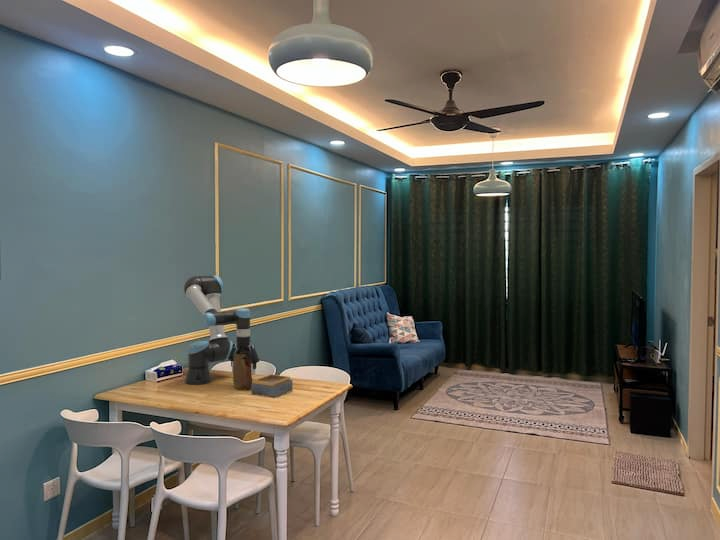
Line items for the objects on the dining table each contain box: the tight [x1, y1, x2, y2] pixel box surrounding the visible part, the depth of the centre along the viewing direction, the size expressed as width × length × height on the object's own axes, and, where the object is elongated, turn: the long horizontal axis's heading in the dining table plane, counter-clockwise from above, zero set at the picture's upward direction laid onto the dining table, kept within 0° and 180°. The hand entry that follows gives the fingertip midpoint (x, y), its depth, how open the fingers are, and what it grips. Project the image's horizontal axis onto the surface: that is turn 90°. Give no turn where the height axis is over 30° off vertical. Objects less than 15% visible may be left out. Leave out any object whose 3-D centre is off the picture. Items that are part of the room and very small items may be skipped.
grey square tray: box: [250, 373, 293, 398], centre depth 293 cm, size 16×16×8 cm
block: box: [232, 352, 253, 391], centre depth 301 cm, size 11×8×20 cm
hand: (243, 373), depth 300 cm, fingers open, 13 cm apart
